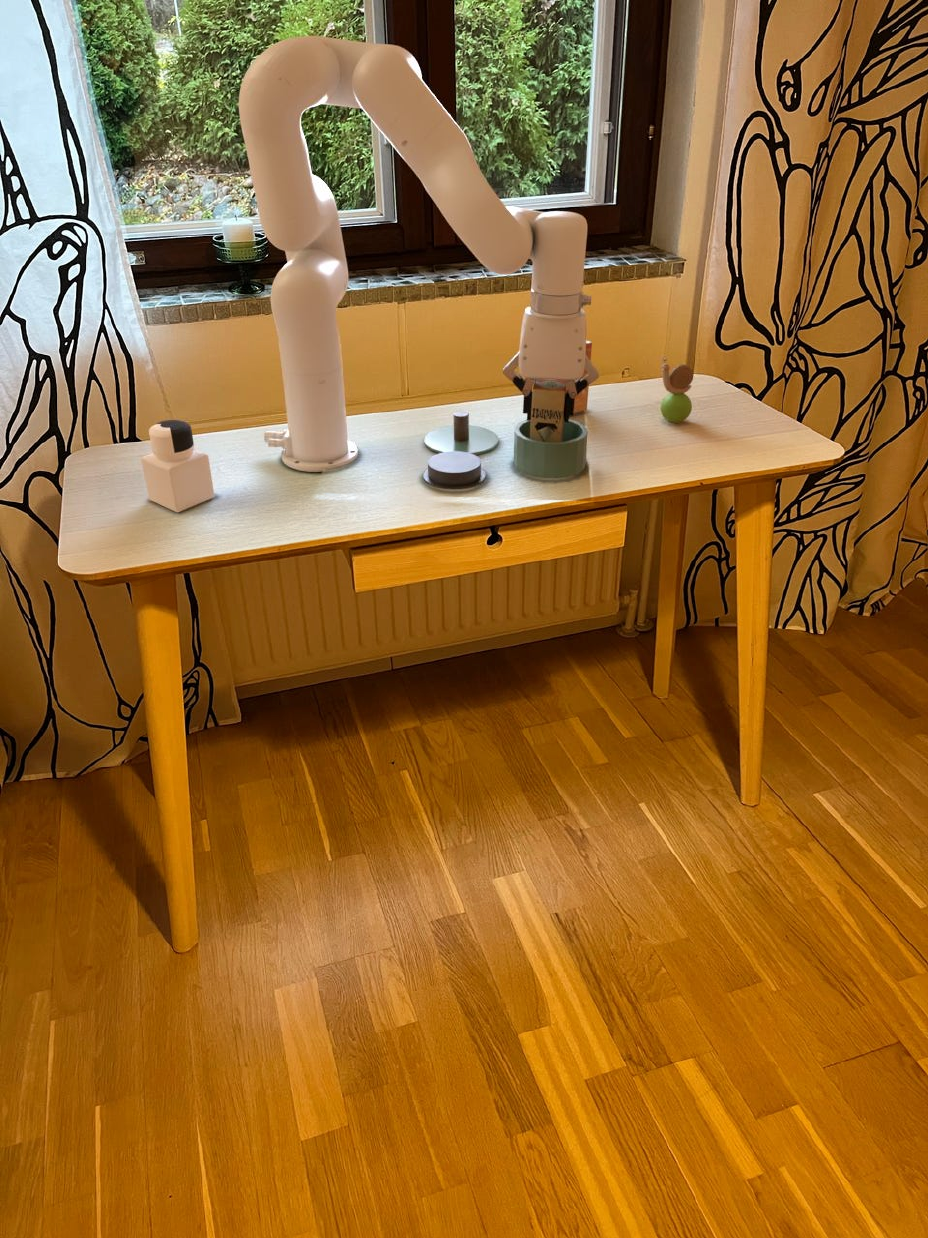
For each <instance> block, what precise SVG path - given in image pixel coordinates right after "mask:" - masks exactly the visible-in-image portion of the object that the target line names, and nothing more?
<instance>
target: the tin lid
mask: <svg viewBox="0 0 928 1238" xmlns="http://www.w3.org/2000/svg"><path fill="white" fill-rule="evenodd" d="M423 442H424V445H425V447H426V448H427V449H428V450H430V451H432V452H434V453H436V454H439V453H443V452H450V451H460V452H467V453H471V454H474V455H476V456H477V455H478V456H479V455H482V454H483V455H484V454H486V453H488V452H491V451H493V450H494V449H495V448H497V446H498V445H499V437H498V435H497V434H496V432H493V431H492V430H491V429H488V428H485V427H482V426H477V425H470V413H469V412H468V411H465V410H457V411H454V412H453V425H447V426H442V427H438V428H435V429H433V430H431V431H429V432H428V433H427V434H426V435H424V440H423Z"/></svg>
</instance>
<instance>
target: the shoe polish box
mask: <svg viewBox="0 0 928 1238" xmlns="http://www.w3.org/2000/svg"><path fill="white" fill-rule="evenodd" d="M566 385H567V383H566V381H565V380H550V379H535V382H534V384H533V386H532V409H531V426H530V439H532V440H536V441H542V442H562V435H563V423H564V407H565V394H566Z"/></svg>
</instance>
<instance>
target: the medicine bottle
mask: <svg viewBox="0 0 928 1238" xmlns="http://www.w3.org/2000/svg"><path fill="white" fill-rule="evenodd" d="M148 435H149V440H150V446H151V451H152V453H149V454H147V455H144V456H142V457H141V464H142V469H143V474H144V479H145V484H146V490H147V495H148V499H149V500H150V501H152V502H154V503H156V504H158V505H160V506H162V507H164V508H166V509H168V510H171V511H173V512H175V513H180V512H183V511H185V510H187V509H190V508H192V507H194V506H197V505H199V504H202V503H205V502H206V501H209V500H211V499H213V498H215V490H214V485H213V484H214V483H213V477H212V471H211V465H210V464H211V463H210V458H209V455H208V454H207V453H205V452H202V451H200V450H197V449H195V443H194V436H193V431H192V426H191V424H189V422H186V421H183V420H178V419H165V420H162V421H159V422H157V423H155V424H153V425H152V426H150V427H149V429H148Z"/></svg>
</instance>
